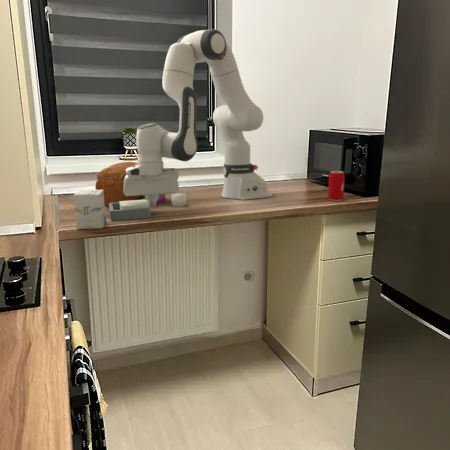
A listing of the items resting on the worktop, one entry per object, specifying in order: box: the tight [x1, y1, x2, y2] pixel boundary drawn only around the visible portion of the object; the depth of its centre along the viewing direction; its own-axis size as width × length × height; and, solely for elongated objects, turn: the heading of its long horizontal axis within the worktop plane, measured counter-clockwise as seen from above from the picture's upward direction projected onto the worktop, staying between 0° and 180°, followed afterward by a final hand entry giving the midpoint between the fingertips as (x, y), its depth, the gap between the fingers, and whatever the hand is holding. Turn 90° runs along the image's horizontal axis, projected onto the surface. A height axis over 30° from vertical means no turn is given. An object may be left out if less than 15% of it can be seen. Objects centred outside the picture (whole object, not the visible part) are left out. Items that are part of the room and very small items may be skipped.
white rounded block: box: [170, 192, 187, 208], centre depth 181 cm, size 6×6×4 cm
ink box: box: [73, 189, 107, 230], centre depth 151 cm, size 9×8×12 cm
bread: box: [94, 161, 145, 207], centre depth 190 cm, size 14×26×16 cm, turn 169°
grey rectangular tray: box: [108, 202, 151, 222], centre depth 166 cm, size 14×14×4 cm
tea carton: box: [119, 198, 151, 210], centre depth 166 cm, size 10×9×5 cm
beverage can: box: [327, 170, 346, 202], centre depth 186 cm, size 6×6×12 cm
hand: (152, 205), depth 168 cm, fingers closed
